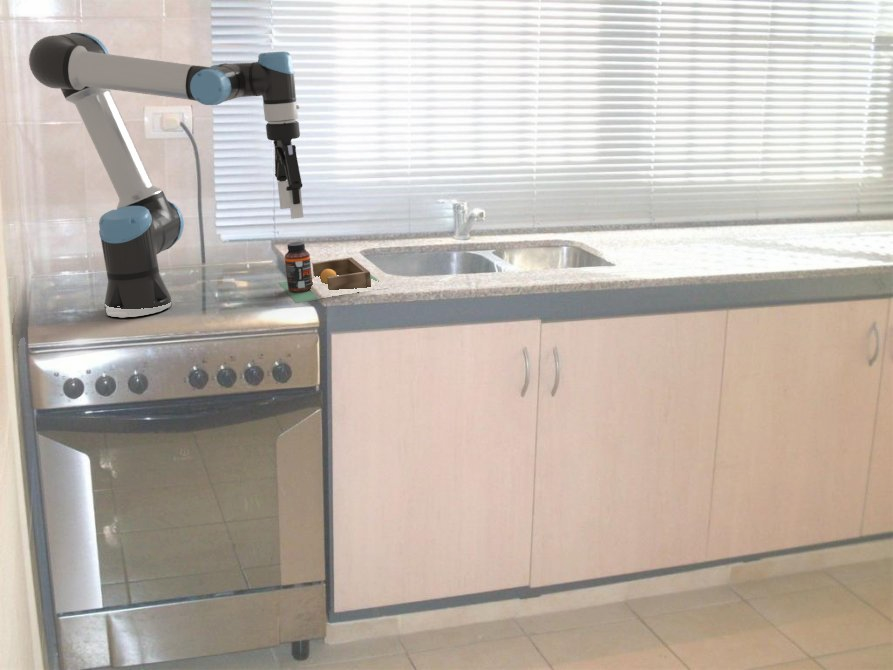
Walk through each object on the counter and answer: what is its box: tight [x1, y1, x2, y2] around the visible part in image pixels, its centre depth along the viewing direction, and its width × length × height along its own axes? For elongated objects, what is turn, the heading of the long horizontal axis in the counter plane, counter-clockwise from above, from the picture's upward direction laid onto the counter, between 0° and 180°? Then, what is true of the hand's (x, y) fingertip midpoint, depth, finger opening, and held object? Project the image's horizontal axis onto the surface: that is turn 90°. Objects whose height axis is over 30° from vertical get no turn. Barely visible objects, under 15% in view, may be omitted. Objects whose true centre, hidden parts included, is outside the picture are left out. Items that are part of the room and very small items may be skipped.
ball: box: [320, 269, 337, 284], centre depth 268 cm, size 4×4×4 cm
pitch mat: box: [279, 273, 380, 304], centre depth 268 cm, size 22×21×1 cm
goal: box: [311, 256, 371, 290], centre depth 269 cm, size 10×18×4 cm, turn 19°
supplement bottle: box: [284, 241, 313, 292], centre depth 265 cm, size 6×6×11 cm
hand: (291, 213), depth 262 cm, fingers open, 13 cm apart
